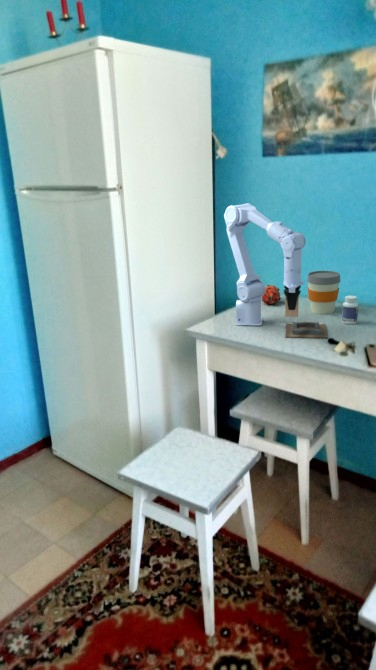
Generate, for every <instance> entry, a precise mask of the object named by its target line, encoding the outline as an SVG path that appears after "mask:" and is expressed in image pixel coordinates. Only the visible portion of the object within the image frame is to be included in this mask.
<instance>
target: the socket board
mask: <svg viewBox="0 0 376 670" xmlns="http://www.w3.org/2000/svg"><path fill="white" fill-rule="evenodd" d="M284 337H285V339H322V340H323V339H326V340H327V339H328V333H327V327H326V323H320V322H319V321H292V323H289V322H288V323H287V322H286V323H285V336H284Z"/></svg>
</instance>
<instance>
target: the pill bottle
mask: <svg viewBox="0 0 376 670" xmlns="http://www.w3.org/2000/svg"><path fill="white" fill-rule="evenodd" d="M358 315H359V303H358V302H357V296H355V295H346V296H345V297H344V301H343V303H342V313H341V322H342V323H343V324H346V325H354V324H357V323H358Z"/></svg>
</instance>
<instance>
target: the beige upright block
mask: <svg viewBox="0 0 376 670" xmlns="http://www.w3.org/2000/svg"><path fill="white" fill-rule="evenodd" d="M299 298H300V295H299V296H298V299H297V303H296V308H295V310H289V309H288V303H287V299H286V296H285V298H284V299H285V308H284V309H285V311H284V316H285V317H287V318H288V317H289V318H292V317H293V318H298V317H299V303H300V302H299Z"/></svg>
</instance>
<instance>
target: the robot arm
mask: <svg viewBox="0 0 376 670" xmlns="http://www.w3.org/2000/svg"><path fill="white" fill-rule="evenodd" d="M223 217H224V222H225V225H226V234H227V237H228V240H229V245H230V248H231V251H232V254H233V258H234V260H235V261H234V262H235V264H236V268H237V271H238V274H239V278H238V279H237V281H236V289H237V290H236V293H237V294H236V295H237V298H238V299H236V303H235V320H236V322H235V325H236V326H260V327H261V326H262V324H263V318H262V296H263V295H264V293H265V288H266V285H265V284H264V283H263V281H262V280H261V276H260V275H258V274H257V273H256V272H255V271H254V267H253V264H252V260H251V257H250V253H249V250H248V247H247V244H246V240H245V236H244V233H243V232H244V230H245V228H246V227H247V226H248V225H249V223H253V224H255V226H258V227H260V228H261V229H263V230H265V231H266V235H267V236H268V237H269V238H271V239H272V240H273V241H275V242H276V243H277V244H279V245H280V247H281V249H282V252H283V253H282V255H283V266H284V267H283V282H282V283H283V284H282V285H283V287H284V289H283V294H284V295H285V297H286V299H287V303H288V309H289V310H295V308H296V303H297V299H298V296H299V297H300V294H301V292H302V291H301V290H300V289H301V285H305V281H304V280H302V259H303V258H302V257H303V255H302V253H303V252H302V251H303V248H305V245H306V237H305V235H304V234H303V233H302V232H301V231H294V230H293V229H292V228H289V227H287V226H285V225H284V224H283V222H282V221H272V220H270V218H268V217H266V216H265V215H264V214H263V213H261V212H260V211H258V210H257V207H256V206H254V205H252V204H251V203H248V202H247V203H243V204H237V205H228V207H227V208H226V209H225V212H224V214H223Z"/></svg>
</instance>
